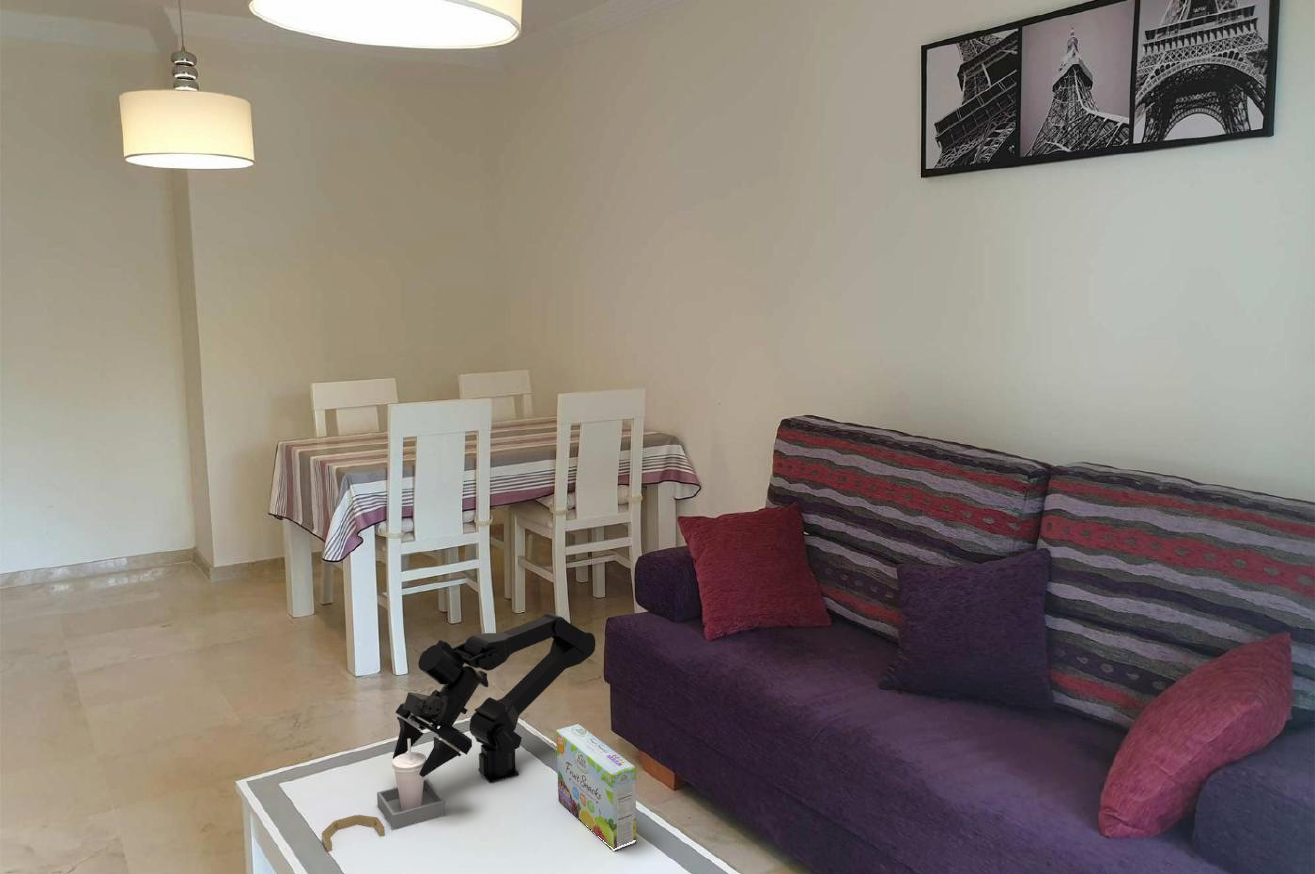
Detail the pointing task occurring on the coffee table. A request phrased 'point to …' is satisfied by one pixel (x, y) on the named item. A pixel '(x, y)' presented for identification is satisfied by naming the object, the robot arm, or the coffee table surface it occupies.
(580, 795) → the snack box
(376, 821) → the collar
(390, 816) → the tray
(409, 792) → the smoothie
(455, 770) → the coffee table surface
